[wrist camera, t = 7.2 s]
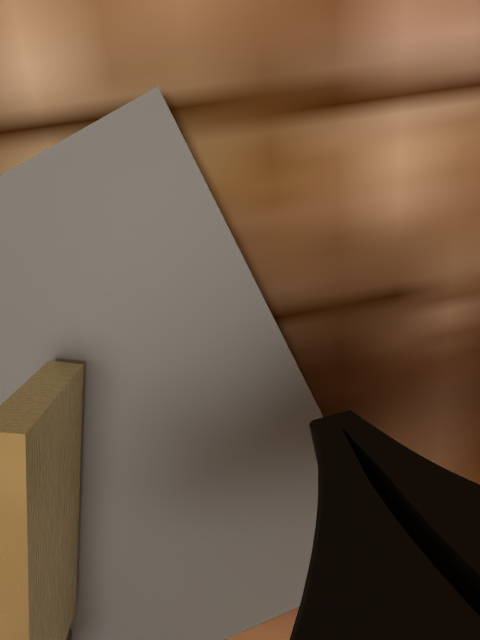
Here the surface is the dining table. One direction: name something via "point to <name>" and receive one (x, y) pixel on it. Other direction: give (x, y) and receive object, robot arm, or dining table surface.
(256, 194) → the dining table surface
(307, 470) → the board
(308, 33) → the dining table surface
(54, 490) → the swing leaf
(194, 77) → the dining table surface
